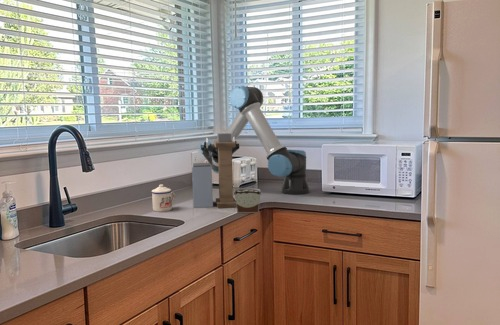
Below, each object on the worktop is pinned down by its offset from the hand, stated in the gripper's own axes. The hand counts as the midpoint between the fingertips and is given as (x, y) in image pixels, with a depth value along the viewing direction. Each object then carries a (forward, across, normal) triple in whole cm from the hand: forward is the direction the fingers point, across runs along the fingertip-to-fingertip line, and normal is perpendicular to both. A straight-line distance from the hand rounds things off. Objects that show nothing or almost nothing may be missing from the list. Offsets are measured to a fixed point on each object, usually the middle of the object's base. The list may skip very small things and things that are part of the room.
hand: (220, 139), depth 222 cm
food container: (+12, -10, -42) cm, 45 cm away
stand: (-2, -1, -34) cm, 34 cm away
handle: (+7, -1, -5) cm, 9 cm away
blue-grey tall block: (-4, +10, -33) cm, 35 cm away
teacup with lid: (+1, +28, -36) cm, 45 cm away
